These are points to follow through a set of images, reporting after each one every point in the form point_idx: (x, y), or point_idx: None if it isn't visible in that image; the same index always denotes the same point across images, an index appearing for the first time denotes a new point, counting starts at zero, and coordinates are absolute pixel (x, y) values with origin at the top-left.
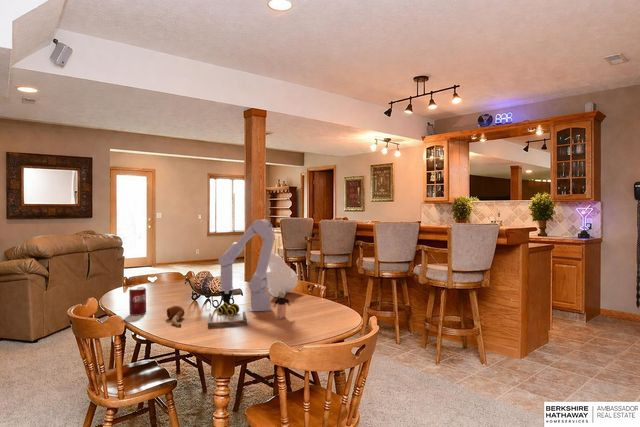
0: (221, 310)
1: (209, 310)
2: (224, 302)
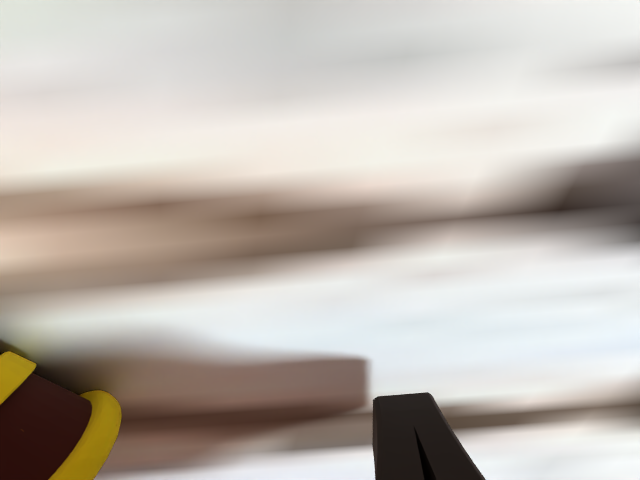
0: (12, 370)
1: (255, 66)
2: (378, 471)
